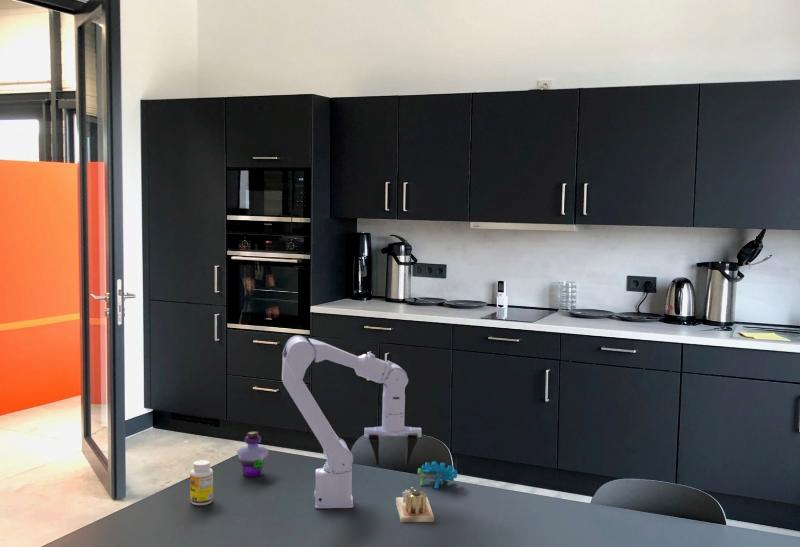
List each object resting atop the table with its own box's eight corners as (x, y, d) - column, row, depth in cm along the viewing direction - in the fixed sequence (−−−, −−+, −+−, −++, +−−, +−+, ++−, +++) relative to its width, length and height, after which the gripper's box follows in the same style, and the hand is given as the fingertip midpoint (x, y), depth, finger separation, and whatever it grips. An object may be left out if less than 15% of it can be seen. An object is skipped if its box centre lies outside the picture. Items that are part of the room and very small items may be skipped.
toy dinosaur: (462, 477, 216) (451, 459, 210) (459, 497, 213) (447, 479, 206) (425, 476, 221) (413, 458, 214) (421, 496, 217) (409, 478, 210)
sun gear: (403, 504, 197) (404, 491, 196) (401, 497, 202) (402, 484, 201) (423, 504, 197) (424, 491, 197) (421, 497, 202) (421, 484, 202)
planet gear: (406, 514, 190) (407, 493, 190) (404, 506, 195) (405, 486, 194) (427, 514, 190) (427, 493, 190) (424, 506, 195) (425, 486, 195)
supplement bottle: (188, 499, 200) (188, 460, 199) (210, 496, 202) (211, 457, 201) (191, 507, 195) (191, 467, 194) (214, 504, 197) (214, 464, 196)
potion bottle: (253, 482, 213) (253, 438, 212) (230, 475, 218) (230, 433, 217) (274, 473, 221) (275, 431, 220) (252, 467, 225) (252, 426, 224)
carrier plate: (400, 522, 189) (401, 516, 188) (395, 501, 201) (395, 497, 201) (434, 521, 189) (434, 516, 189) (426, 501, 202) (426, 496, 202)
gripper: (365, 416, 197) (364, 469, 198) (423, 415, 198) (422, 468, 199) (364, 408, 204) (363, 460, 205) (420, 408, 205) (418, 459, 206)
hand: (392, 463), depth 202 cm, fingers open, 7 cm apart
